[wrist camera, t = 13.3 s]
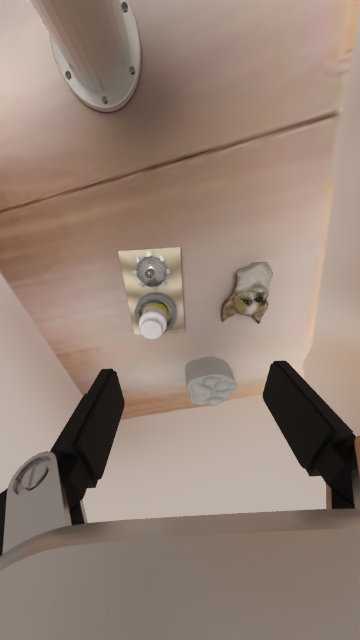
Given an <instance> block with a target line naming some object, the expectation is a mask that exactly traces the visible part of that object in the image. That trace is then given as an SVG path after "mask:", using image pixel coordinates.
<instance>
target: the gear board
mask: <svg viewBox="0 0 360 640" xmlns="http://www.w3.org/2000/svg"><path fill="white" fill-rule="evenodd" d="M146 252H152V256H155V257H158V258H160V256H161V255H162V256H163V257H164V258H165V259H164V261H163V263H164V264H165V267H166V268H170V273H167V274H166V277H165V280H166V281H167V283H166V285H165V286H163V285H162V284H160V285H158V286H156V290H153V291H151V287H149V286H146V285H144V286H143V287H141V286H140V285H138V284H139V283H140V280H139V279H138V277H137V275H135V276H133V272H132V271H133V270H136V267H137V264H138V263H136V262H135V259H136V258H137V257H139V258H140V259H142V258H144V257H147V254H146ZM118 253H119V258H120V263H121V268H122V273H123V278H124V283H125V288H126V293H127V298H128V303H129V308H130V313H131V318H132V323H133V328H134V333H135V335H137V334H142V333H141V330H140V328H139V325H138V324H137V323H136V320H135V314H134V310H135V308H136V306H137V303H138V301H139V300H140V299H141V298H142V297H144V296H145V295H146V294H148V293H153V292H161V293H163V294H165V295H167V296H169V297H171V299H172V300H173V302H174V303H175V305H176V310H177V320H176V322H175V324H174V326H173V328H172V329H170V330H168V331H167V332H165V333H171V332H185V330H184V311H183V292H182V273H181V254H180V247H175V248H160V249H144V250H129V251H118ZM152 301H160V302H162V303H164V304H165V305H166V307H167V309H168V318H167V322H169V321H170V319H171V317H172V310H171V309H170V307H169V306H168V304H167V303H165V302H163V301H161V300H158V299H157V300H148V301H147V302H145V303H144V304H143V305H142V307H141V313H142V314H143V312H144V310H145V308H146V306H147V305H148V304H149V303H150V302H152Z"/></svg>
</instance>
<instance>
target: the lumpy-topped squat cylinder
mask: <svg viewBox="0 0 360 640" xmlns="http://www.w3.org/2000/svg"><path fill="white" fill-rule="evenodd" d="M185 370H186V383H187V389H188V391H189V393H190V400H191V401H192V402H193V403H195V404H198V405H204V404H210V405H212V406H215V405H217V404H219V403H220V402H221V401H223V400H224V399H226V398H228V397H229V396H231V395H232V394H233V393H234V391H235V390H236V387H237V384H236V381H235V379H234V377H233V374H232V372H231V370H230V368H229V365H228V364H227V363H226V362H225V361H224V360H222V359H219V358H215V357H206V358H201V359H197V360H193V361H191V362H189V363H188V364H187V365H186V367H185Z"/></svg>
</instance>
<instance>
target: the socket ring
mask: <svg viewBox="0 0 360 640" xmlns="http://www.w3.org/2000/svg"><path fill="white" fill-rule="evenodd" d="M157 299H158V300H161V301H163V302H165V303H167V304H168V306H169V307H170V309H171V310H172V317H171V319H170V321H169V322H167V327H166V330H165V332H167V331H168V330H170V329H172V328H173V326H174V324H175V322H176V320H177V310H176V305H175V303H174V302H173V300H172V299H171V297H169V296H167V295H165V294H163V293H161V292H153V293H148V294H146V295H145V296H144V297H142V298H141V299H140V300H139V301H138V303H137V306H136V308H135V310H134V314H135V320H136V323H137V324H138V325H139V320H140V318H141V316H142V313H141V307H142V305H143V304H144V303H145V302H147V301H148V300H157ZM165 332H164V333H165Z"/></svg>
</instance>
